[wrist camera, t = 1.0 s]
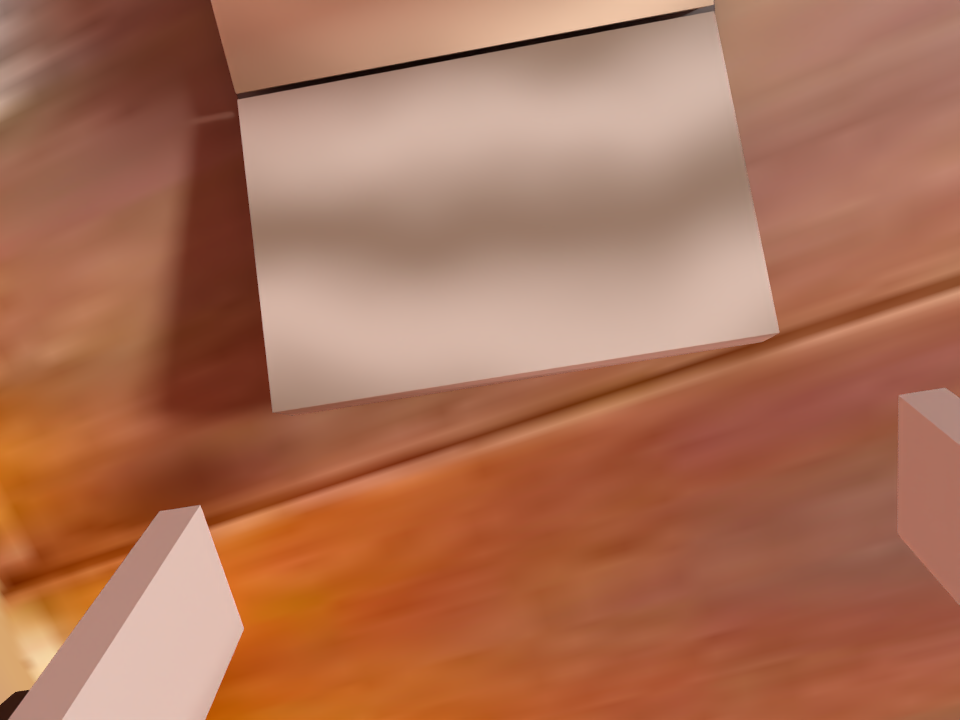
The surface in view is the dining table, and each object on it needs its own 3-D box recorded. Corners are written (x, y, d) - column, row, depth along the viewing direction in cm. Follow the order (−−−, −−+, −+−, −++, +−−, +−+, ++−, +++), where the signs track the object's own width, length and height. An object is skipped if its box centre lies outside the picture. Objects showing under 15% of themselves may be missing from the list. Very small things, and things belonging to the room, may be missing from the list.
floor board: (146, -256, 23) (115, -285, 21) (687, -375, 22) (706, -417, 20) (317, 388, 31) (306, 410, 29) (732, 322, 30) (749, 340, 28)
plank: (257, 123, 27) (237, 99, 25) (703, 42, 26) (714, 11, 24) (291, 415, 25) (272, 412, 24) (763, 341, 24) (779, 332, 23)
